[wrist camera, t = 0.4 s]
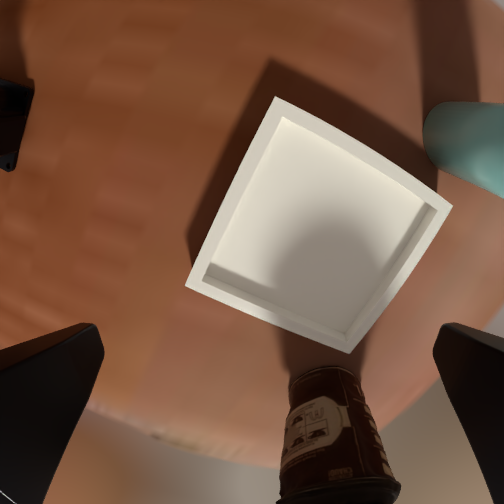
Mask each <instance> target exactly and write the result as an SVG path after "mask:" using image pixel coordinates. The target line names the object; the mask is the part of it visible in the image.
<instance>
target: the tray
mask: <svg viewBox="0 0 504 504" xmlns="http://www.w3.org/2000/svg"><path fill="white" fill-rule="evenodd" d="M452 207H453V205H451V204H450V203H449V202H447V201H446V200H445V199H443V198H442V197H441V196H439V195H438V194H437V193H435V192H434V191H433V190H431V189H430V188H429V187H427V186H426V185H424V184H423V183H422V182H420V181H419V180H417V179H416V178H415V177H413V176H412V175H410V174H409V173H407V172H406V171H404V170H403V169H401V168H400V167H399V166H397V165H396V164H394V163H392V162H391V161H389V160H388V159H386V158H385V157H383V156H382V155H380V154H379V153H377V152H375V151H374V150H372V149H371V148H369V147H367V146H366V145H364V144H362V143H361V142H359V141H357V140H356V139H354V138H352V137H351V136H349V135H347V134H346V133H344V132H342V131H340V130H339V129H337V128H335V127H333V126H332V125H330V124H328V123H326V122H324V121H323V120H321V119H319V118H317V117H315V116H313V115H311V114H309V113H308V112H306V111H304V110H302V109H300V108H298V107H296V106H294V105H292V104H290V103H288V102H286V101H284V100H282V99H280V98H278V97H276V96H275V98H274V99H273V101H272V103H271V105H270V107H269V109H268V111H267V113H266V115H265V117H264V119H263V121H262V123H261V125H260V127H259V129H258V131H257V133H256V135H255V137H254V139H253V141H252V143H251V145H250V147H249V149H248V151H247V153H246V155H245V157H244V159H243V161H242V163H241V165H240V167H239V169H238V171H237V173H236V175H235V177H234V179H233V181H232V183H231V186H230V188H229V190H228V192H227V194H226V196H225V198H224V200H223V202H222V205H221V207H220V209H219V211H218V213H217V215H216V217H215V219H214V222H213V224H212V226H211V228H210V230H209V233H208V235H207V237H206V239H205V241H204V243H203V246H202V248H201V250H200V252H199V255H198V257H197V259H196V261H195V264H194V266H193V268H192V270H191V273H190V275H189V277H188V279H187V282H186V284H185V286H186V287H189V288H191V289H193V290H195V291H197V292H200V293H202V294H204V295H206V296H209V297H211V298H213V299H215V300H218V301H220V302H222V303H224V304H227V305H229V306H231V307H234V308H236V309H238V310H241V311H243V312H245V313H248V314H250V315H252V316H255V317H257V318H259V319H262V320H264V321H267V322H269V323H271V324H274V325H276V326H279V327H281V328H284V329H286V330H289V331H291V332H294V333H296V334H299V335H301V336H304V337H306V338H309V339H311V340H314V341H316V342H319V343H322V344H324V345H327V346H329V347H332V348H335V349H337V350H340V351H343V352H345V353H348V354H350V353H351V351H352V350H353V349H354V348H355V347H356V345H357V344H358V343H359V342H360V340H361V339H362V338H363V337H364V336H365V334H366V333H367V332H368V330H369V329H370V328H371V327H372V325H373V324H374V323H375V322H376V320H377V319H378V318H379V316H380V315H381V314H382V312H383V311H384V310H385V308H386V307H387V306H388V304H389V303H390V302H391V300H392V299H393V297H394V296H395V295H396V293H397V292H398V291H399V289H400V288H401V286H402V285H403V284H404V282H405V281H406V279H407V278H408V276H409V275H410V273H411V272H412V270H413V269H414V268H415V266H416V265H417V263H418V262H419V260H420V259H421V257H422V256H423V254H424V252H425V251H426V249H427V248H428V246H429V245H430V243H431V241H432V240H433V238H434V237H435V235H436V233H437V232H438V230H439V229H440V227H441V225H442V224H443V222H444V220H445V219H446V217H447V215H448V214H449V212H450V210H451V208H452Z"/></svg>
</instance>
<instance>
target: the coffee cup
mask: <svg viewBox="0 0 504 504" xmlns="http://www.w3.org/2000/svg"><path fill="white" fill-rule="evenodd" d="M289 404H290V407H291V408H290V411H289V414H288V416H287V418H286V425H285V435H284V446H283V451H282V456H281V468H280V476H279V479H280V493H279V494H280V496H281V499H280V500H278V501H277V502H276V504H393V503H394V502H395V501H396V499H397V498H398V496H399V493H400V490H401V484H400V483H399V482H398V481H396V480H395V478H394V476H393V473H392V472H391V468H390V466H389V464H388V461H387V457H386V454H385V451H384V448H383V445H382V442H381V438H380V436H379V434H378V432H377V427H376V424H375V421H374V419H373V417H372V414H371V411H370V409H369V407H368V405H367V404H366V403H365V396H364V393H363V391H362V389H361V385H360V383H359V381H358V379H357V378H356V377H355V376H354V375H353V374H352V373H351V372H350V371H348V370H346V369H343V368H340V367H327V368H320V369H316V370H313V371H310V372H308V373H306V374H305V375H303V376H301V377H300V378H299V379H297V380H296V381H295V382H294V383H293V385H292V386H291V388H290V391H289Z"/></svg>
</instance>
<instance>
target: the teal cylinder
mask: <svg viewBox="0 0 504 504" xmlns="http://www.w3.org/2000/svg"><path fill="white" fill-rule="evenodd" d="M423 143H424V147H425V150H426V153H427V155H428V157H429V159H430V160H431V162H432V163H433V164H434V165H435V166H436V167H437V168H439V169H440V170H442V171H444V172H446V173H448V174H451V175H453V176H456V177H458V178H460V179H463V180H465V181H467V182H469V183H472V184H474V185H476V186H478V187H480V188H483V189H485V190H487V191H489V192H491V193H493V194H495V195H497V196H499V197H501V198H503V199H504V103H490V102H460V101H448V102H442V103H440V104H438V105H436V106H435V107H434V108H433V109H432V110H431V111H430V112H429V114H428V115H427V117H426V120H425V123H424V127H423Z"/></svg>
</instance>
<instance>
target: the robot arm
mask: <svg viewBox="0 0 504 504" xmlns="http://www.w3.org/2000/svg"><path fill="white" fill-rule="evenodd" d="M27 92H28V95H27V96H26V94H27ZM33 94H34V93H33V89H32V88H30V87H27V86H24V85H21V84H17V83H14V82H11V81H8V80H5V79H1V78H0V168H1V169H3V170H5V171H7V172H11V171H13V170H14V169H15V167H16V162H17V157H18V152H19V148H20V143H21V139H22V134H23V130H24V126H25V123H26V119H27V115H28V111H29V108H30V105H31V101H32V98H33ZM433 358H434V360H435V363H436V366H437V368H438V371H439V373H440V376H441V379H442V381H443V384H444V387H445V390H446V392H447V394H448V397H449V399H450V402H451V404H452V406H453V408H454V410H455V412H456V414H457V416H458V418H459V420H460V423H461V425H462V427H463V429H464V431H465V434H466V436H467V438H468V440H469V443H470V445H471V447H472V449H473V452H474V454H475V457H476V459H477V461H478V464H479V466H480V469H481V471H482V473H483V476H484V479H485V481H486V484H487V487H488V489H489V492H490V495H491V497H492V500H493V503H494V504H504V338H502V337H499V336H495V335H492V334H489V333H486V332H483V331H480V330H477V329H474V328H471V327H468V326H465V325H462V324H459V323H454V322H453V323H445V324H443V325H442V326H441V328H440V331H439V333H438V336H437V339H436V341H435V344H434V347H433ZM103 359H104V346H103V343H102V340H101V337H100V334H99V331H98V328H97V326H96V325H95V324H92V323H79V324H76V325H73V326H70V327H67V328H64V329H61V330H58V331H55V332H52V333H49V334H47V335H44V336H41V337H38V338H35V339H32V340H29V341H26V342H23V343H20V344H17V345H14V346H11V347H8V348H5V349H2V350H0V504H43V501H44V499H45V496H46V494H47V491H48V489H49V486H50V484H51V482H52V479H53V477H54V474H55V472H56V470H57V467H58V465H59V463H60V460H61V458H62V456H63V454H64V451H65V449H66V446H67V445H68V442H69V440H70V438H71V436H72V434H73V431H74V429H75V427H76V425H77V423H78V421H79V419H80V416H81V415H82V412H83V410H84V408H85V406H86V404H87V402H88V400H89V397H90V395H91V392H92V389H93V387H94V384H95V381H96V378H97V375H98V373H99V370H100V367H101V364H102V362H103Z"/></svg>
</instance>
